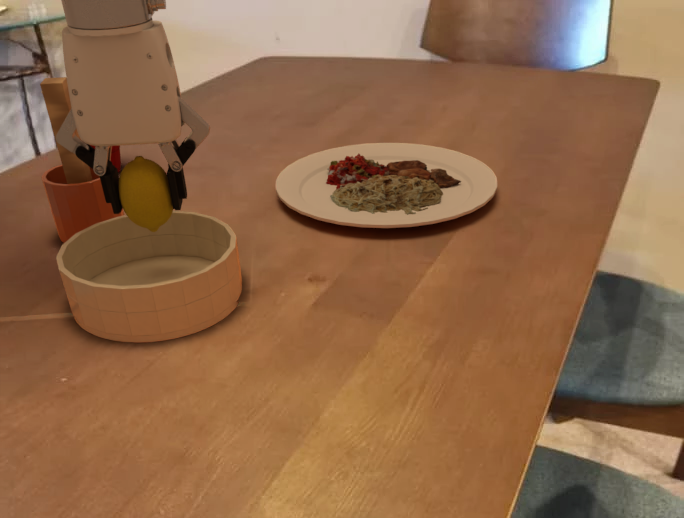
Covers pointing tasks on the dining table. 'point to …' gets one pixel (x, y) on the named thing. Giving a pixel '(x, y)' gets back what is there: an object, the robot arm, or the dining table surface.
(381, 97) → the dining table surface
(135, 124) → the robot arm
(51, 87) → the wooden stirring stick
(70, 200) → the crock
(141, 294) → the bowl
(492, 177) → the plated food
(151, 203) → the lemon
